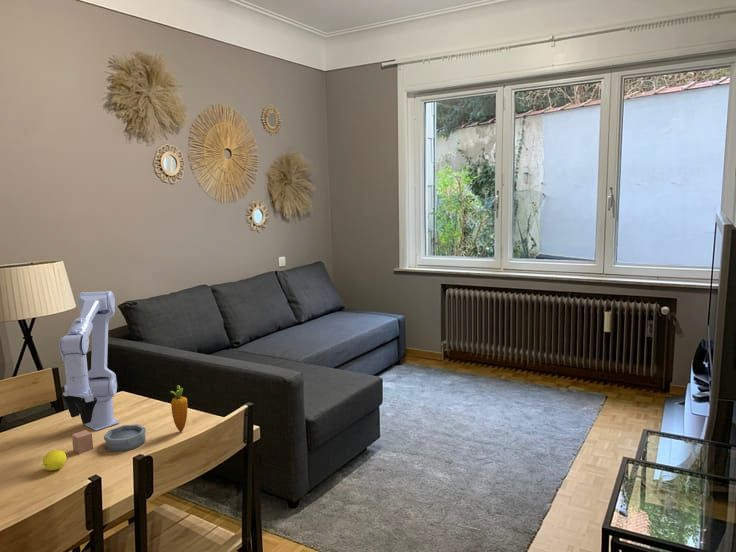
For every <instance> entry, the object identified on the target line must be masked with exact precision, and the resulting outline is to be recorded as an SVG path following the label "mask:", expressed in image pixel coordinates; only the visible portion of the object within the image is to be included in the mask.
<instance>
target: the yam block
mask: <svg viewBox="0 0 736 552" xmlns="http://www.w3.org/2000/svg"><path fill="white" fill-rule="evenodd" d="M71 437H72V449H73V450H72V451H74V452H75V453H77V454H78V455H82V454H84V453H87V452H89V451H92V450H94V443H93V442H94V441H93V434H92V432H90V431H88V430H86V429H84V430H81V431H79V432H75V433H73V434H71Z"/></svg>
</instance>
